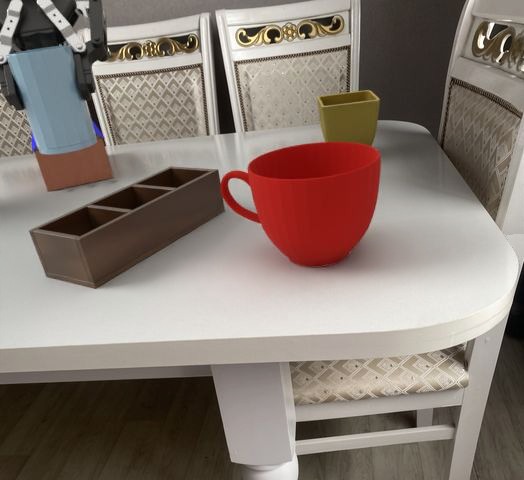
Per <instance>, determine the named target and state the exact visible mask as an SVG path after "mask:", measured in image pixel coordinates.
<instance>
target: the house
mask: <svg viewBox="0 0 524 480" xmlns="http://www.w3.org/2000/svg"><path fill="white" fill-rule="evenodd" d="M92 123H93V127H94V130H95V134H96V135H95V136H96V139H97V143H95V144H94V145H92V146H90V147H87V148H84V149H81V150H77V151H73V152H68V153H61V154H41V153H40V152H39V149H38V147H37V145H36V142H35V139H34V136H33V133H32V132H31V153H32V154H34V155H35V158H36V161H37V165H38V167H39V170H40V173H41V176H42V178H43V181H44V184H45V187H46V190H47V192H52V191H58V190H60V189H66V188H71V187H75V186H80V185H84V184H89V183H94V182H99V181H103V180H104V181H105V180H109V179H113V178H114V175H113V172H112V168H111V165H110V161H109V157H108V153H107V150H106V146H105V142H104V140H105V136H104V135H103V134H102V132H101V130H100V129H99V127H98V126H97V125H96V123H95V121H93V120H92Z"/></svg>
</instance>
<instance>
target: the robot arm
mask: <svg viewBox="0 0 524 480" xmlns="http://www.w3.org/2000/svg"><path fill="white" fill-rule="evenodd" d="M80 17H82V18H84V21H85V23H86V24H87V25H89V29H90V30H89V33H90V40H88V41H86V42H84V40H82V39H81V37H80V35H78V34H77V33H76V31H75V30H74V27H75V26H76V24H77V22H78V20H79V18H80ZM107 25H108V24H107V14H106V11H105V7H104V3H103V0H0V92H1V93H0V94H2V96H3V98H4V99H5V101H6V103H7V104H8V106H9V107H13V108H14V109H15V111H16V112H19V111H25V110H24V107H23V104H22V101H21V98H20V95H19V92H18V90H17V87H16V84H15V81H14V78H13V75H12V72H11V69H10V66H9V64H8V61H7V58H6V55H7V54H10V53H15V52H20V51H26V50H32V49H39V48H45V47H53V46H61V45H71V48H72V52H73V58H74V64H75V69H76V74H77V79H78V84H79V88H80V91H81V93H82V96H83V99H84V100H86V101H90V100H92V94H95V93H96V90H97V87H96V82H95V77H94V71H93V65H94V63H96V62H100V63H105V62H106V61H108V60H109V50H108V49H109V46H108V43H109V42H108V28H107V27H108V26H107Z"/></svg>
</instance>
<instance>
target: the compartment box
mask: <svg viewBox="0 0 524 480" xmlns="http://www.w3.org/2000/svg"><path fill="white" fill-rule="evenodd" d="M220 184H221V177H220V171H219V169H218V168H201V167H186V166H170V165H169V166H168V167H166V168H163V169H161V170H159V171H157V172H155V173H153V174H150V175H148V176H146V177H144V178H142V179H139V180H136V181H135V182H133V183H130V184H128V185H126V186H124V187H122V188H119V189H117V190H115V191H113V192H111V193H108V194H106V195H104V196H102V197H99V198H97V199H95V200H93V201H90V202H88V203H86V204H84V205H81V206H79V207H77V208H75V209H73V210H71V211H69V212H66V213H64V214H62V215H60V216H57V217H55V218H52V219H50V220H49V221H46V222H44V223H42V224H40V225H37V226H35V227H33V228H31V229H29V230H28V233H29V235H30V238H31V240H32V243H33V245H34V249H35V251H36V254H37V256H38V259H39V261H40V264H41V267H42V269H43V272H44V275H45V277H46V278H51V279H55V280H58V281H64V282H67V283H71V284H75V285H80V286H84V287H88V288H92V289H97V288H99V287H101V286H102V285H104V284H106V283H108V282H109V281H111V280H112V279H115V278H116V277H117V276H119V275H121V274H122V273H124V272H126V271H128V270H129V269H131V268H132V267H134V266H135V265H137V264H139V263H141V262H142V261H144V260H145V259H147V258H149V257H150V256H152V255H154V254H155V253H158V252H159V251H161V250H162V249H164V248H165V247H168V246H169V245H170V244H172V243H174V242H175V241H177V240H179V239H181V238H183V237H184V236H186V235H187V234H189V233H191V232H192V231H194V230H196V229H197V228H199V227H200V226H202V225H203V224H206V223H208V222H209V221H211V220H213V219H214V218H215V217H217V216H220V214H222V213H224V212H225V211H226V208H225V207H226V206H225V203H224V202H225V200H224V198H223V197H222V194H221V190H220Z"/></svg>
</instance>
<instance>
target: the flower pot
mask: <svg viewBox="0 0 524 480" xmlns="http://www.w3.org/2000/svg"><path fill="white" fill-rule="evenodd" d="M316 102H317V108H318V116H319V122H320V128H321V133H322V136H323V139H324V142H351V143H359V144H364V145H368V146H371V147H373V144H374V141H375V138H376V135H377V129H378V120H379V111H380V103H381V99H380V98H379V96H377V95H376V94H375V93H374V92H373V91H372V90H370V89H367V90H358V91H357V90H356V91H350V92H341V93H334V94H326V95H318V96H316Z"/></svg>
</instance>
